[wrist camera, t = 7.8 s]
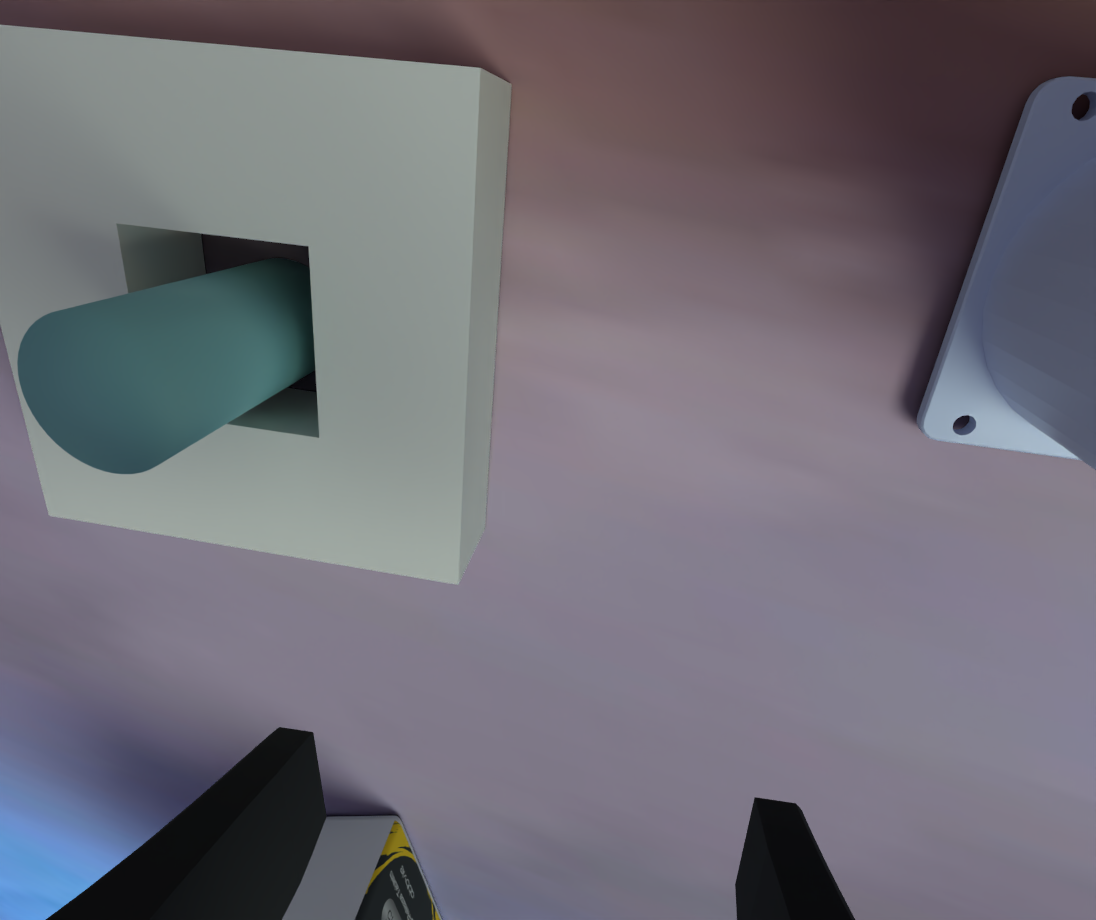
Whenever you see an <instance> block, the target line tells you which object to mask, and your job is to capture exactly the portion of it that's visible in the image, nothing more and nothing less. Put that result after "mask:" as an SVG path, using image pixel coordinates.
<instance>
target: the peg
mask: <svg viewBox="0 0 1096 920" xmlns="http://www.w3.org/2000/svg"><path fill="white" fill-rule="evenodd" d="M17 366H18V376H19V382H20V386H21V389H22V393H23V395H24V398H25V400H26V403H27V405H28V407H29V409H30V410H31V412H32V414H33V416H34V417H35V419H36V420H37V422H38V423H39V425H40V426H41V427H42V429H43V430H44V431H45V432H46V433H47V435H48V436H49V437H50V438H51V439H52V440H53V441H54V442H55V443H56V444H57V445H59V446H60V447H61V448H62V449H63V450H64V451H66V452H67V453H69V454H70V455H71V456H73V457H74V458H76V459H78V460H79V461H81V462H83V463H85V464H87V465H89V466H91V467H93V468H96V469H99V470H102V471H105V472H110V473H115V474H136V473H142V472H145V471H148V470H150V469H152V468H154V467H156V466H158V465H159V464H161V463H163V462H164V461H166V460H167V459H169V458H171V457H172V456H174V455H176V454H177V453H179V452H181V451H182V450H184V449H186V448H187V447H189V446H191V445H192V444H194V443H196V442H197V441H199V440H201V439H202V438H204V437H206V436H207V435H209V434H210V433H212V432H214V431H215V430H217V429H219V428H220V427H222V426H224V425H225V424H227V423H229V422H230V421H232V420H234V419H235V418H237V417H239V416H240V415H242V414H244V413H245V412H247V411H248V410H250V409H252V408H253V407H255V406H257V405H258V404H260V403H262V402H263V401H265V400H267V399H268V398H270V397H272V396H273V395H275V394H277V393H278V392H280V391H282V390H283V389H285V388H287V387H288V386H290V385H291V384H293V383H295V382H296V381H298V380H300V379H301V378H303V377H305V376H306V375H308V374H310V373H311V372H313V371H315V352H314V334H313V317H312V299H311V282H310V268H308V267H307V266H305V265H303V264H301V263H299V262H296V261H293V260H290V259H285V258H270V259H266V260H262V261H258V262H253V263H249V264H245V265H241V266H237V267H233V268H229V269H225V270H221V271H217V272H213V273H209V274H205V275H201V276H197V277H193V278H189V279H185V280H181V281H177V282H172V283H168V284H164V285H160V286H156V287H152V288H148V289H144V290H140V291H136V292H132V293H128V294H124V295H120V296H116V297H112V298H108V299H104V300H100V301H95V302H91V303H87V304H83V305H79V306H75V307H71V308H67V309H63V310H59V311H55V312H51V313H49V314H47V315H44V316H42V317H41V318H39V319H38V320H36V321H35V322H34V323H33V324H32V325H31V326H30V327H29V329H28V330H27V332H26V333H25V335H24V337H23V339H22V341H21V344H20V348H19V352H18V361H17Z"/></svg>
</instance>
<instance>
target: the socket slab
mask: <svg viewBox="0 0 1096 920" xmlns="http://www.w3.org/2000/svg"><path fill="white" fill-rule="evenodd" d="M511 89H512V84H510V83H508V82H506V81H505V80H503V79H501V78H499V77H497V76H495V75H493V74H491V73H489V72H487V71H486V70H484V69H482V68H477V67H466V66H455V65H444V64H432V63H421V62H410V61H399V60H388V59H377V58H366V57H354V56H343V55H332V54H321V53H310V52H299V51H288V50H277V49H265V48H254V47H243V46H232V45H221V44H210V43H199V42H188V41H176V40H165V39H154V38H143V37H132V36H121V35H110V34H99V33H87V32H76V31H65V30H54V29H43V28H32V27H21V26H9V25H0V326H1V330H2V333H3V337H4V341H5V345H6V349H7V353H8V357H9V361H10V365H11V369H12V373H13V376H14V380H15V384H16V388H17V392H18V396H19V400H20V404H21V408H22V412H23V416H24V419H25V423H26V427H27V431H28V435H29V439H30V443H31V447H32V451H33V455H34V459H35V462H36V466H37V470H38V474H39V478H40V482H41V486H42V490H43V494H44V498H45V502H46V505H47V509H48V513H49V516H54V517H60V518H66V519H72V520H78V521H84V522H90V523H96V524H102V525H108V526H114V527H119V528H125V529H131V530H137V531H143V532H149V533H155V534H161V535H167V536H173V537H179V538H184V539H190V540H196V541H202V542H208V543H214V544H220V545H226V546H232V547H238V548H244V549H249V550H255V551H261V552H267V553H273V554H279V555H285V556H291V557H297V558H303V559H309V560H314V561H320V562H326V563H332V564H338V565H344V566H350V567H356V568H362V569H368V570H374V571H379V572H385V573H391V574H397V575H403V576H409V577H415V578H421V579H427V580H433V581H439V582H444V583H450V584H456V585H459V583H460V580H461V578H462V576H463V574H464V572H465V570H466V568H467V566H468V564H469V561H470V559H471V557H472V555H473V553H474V551H475V549H476V547H477V545H478V542H479V540H480V538H481V536H482V534H483V532H484V530H485V519H486V503H487V486H488V470H489V453H490V436H491V420H492V403H493V387H494V370H495V354H496V337H497V320H498V304H499V287H500V271H501V254H502V238H503V221H504V205H505V188H506V171H507V155H508V138H509V122H510V105H511ZM201 233H202V234H210V235H218V236H227V237H235V238H243V239H252V240H260V241H268V242H276V243H285V244H293V245H301V246H309V264H310V282H311V299H312V317H313V334H314V352H315V370H316V387H317V392H313V391H306V390H299V389H292V388H285V389H283V390H282V391H280V392H278V393H277V394H275V395H273V396H272V397H270V398H268V399H267V400H265V401H263V402H262V403H260V404H258V405H257V406H255V407H253V408H252V409H250V410H248V411H247V412H245V413H244V414H242V415H240V416H239V417H237V418H235V419H234V420H232V421H230V422H229V423H227V424H225V425H224V426H222V427H220V428H219V429H217V430H215V431H214V432H212V433H210V434H209V435H207V436H206V437H204V438H202V439H201V440H199V441H197V442H196V443H194V444H192V445H191V446H189V447H187V448H186V449H184V450H182V451H181V452H179V453H177V454H176V455H174V456H172V457H171V458H169V459H167V460H166V461H164V462H163V463H161V464H159V465H158V466H156V467H154V468H152V469H150V470H148V471H145V472H142V473H136V474H115V473H110V472H105V471H102V470H99V469H96V468H93V467H91V466H89V465H87V464H85V463H83V462H81V461H79V460H78V459H76V458H74V457H73V456H71V455H70V454H69V453H67V452H66V451H64V450H63V449H62V448H61V447H60V446H59V445H57V444H56V443H55V442H54V441H53V440H52V439H51V438H50V437H49V436H48V435H47V433H46V432H45V431H44V430H43V429H42V427H41V426H40V425H39V423H38V422H37V420H36V419H35V417H34V416H33V414H32V412H31V410H30V409H29V407H28V405H27V403H26V400H25V398H24V395H23V393H22V389H21V386H20V382H19V376H18V366H17V361H18V352H19V348H20V344H21V341H22V339H23V337H24V335H25V333H26V332H27V330H28V329H29V327H30V326H31V325H32V324H33V323H34V322H35V321H36V320H38V319H39V318H41V317H42V316H44V315H47V314H49V313H51V312H55V311H59V310H63V309H67V308H71V307H75V306H79V305H83V304H87V303H91V302H95V301H100V300H104V299H108V298H112V297H116V296H120V295H124V294H128V293H132V292H136V291H140V290H144V289H148V288H152V287H156V286H160V285H164V284H168V283H172V282H177V281H181V280H185V279H189V278H193V277H197V276H201V275H205V274H206V271H205V262H204V254H203V246H202V238H201Z"/></svg>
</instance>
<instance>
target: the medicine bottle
mask: <svg viewBox="0 0 1096 920" xmlns="http://www.w3.org/2000/svg"><path fill="white" fill-rule="evenodd" d="M282 920H442V918H441V916H440V913H439V911H438V908H437V906H436V904H435V901H434V899H433V896H432V894H431V891H430V889H429V887H428V884H427V882H426V879H425V877H424V874H423V872H422V870H421V867H420V865H419V862H418V860H417V857H416V855H415V852H414V850H413V848H412V845H411V843H410V840H409V838H408V835H407V833H406V831H405V828H404V826H403V823H402V821H401V820H400V818H399V817H398V816H394V815H392V816H330V817H326V820H325V822H324V825H323V828H322V830H321V833H320V835H319V838H318V841H317V843H316V846H315V849H314V851H313V854H312V856H311V859H310V861H309V864H308V866H307V869H306V871H305V873H304V876H303V878H302V881H301V883H300V885H299V887H298V889H297V891H296V893H295V895H294V897H293V899H292V901H291V903H290V905H289V907H288V909H287V911H286V913H285V915H284V917H283V919H282Z"/></svg>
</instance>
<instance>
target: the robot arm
mask: <svg viewBox="0 0 1096 920" xmlns="http://www.w3.org/2000/svg"><path fill="white" fill-rule="evenodd" d="M1082 94H1084V95H1087V97H1088V98H1089V100H1090V106H1089V110H1088V111H1087V113H1086V115H1085V116H1084V117H1082V118H1081V119H1080V120H1077V119H1074V117H1073V115H1072V113H1071V112H1072V105H1073V103H1074V102H1075V100H1076V99H1077V97H1079V96H1080V95H1082ZM965 415H969V422H968V423H967V425H966V426H965V427H963V428H961V429H955V430H954V429H953V423H954V422H955V420H956V419H957V418H959V417H961V416H965ZM917 425H918V427H919V429H920V430H921V431H922V432H923V433H924V434H925V435H926V436H927V437H928V438H931V439H934V440H938V441H945V442H952V443H959V444H967V445H974V446H981V447H989V448H996V449H1003V450H1010V451H1018V452H1025V453H1032V454H1040V455H1047V456H1054V457H1062V458H1069V459H1076V460H1082V461H1084V462H1085V463H1086V464H1088V465H1089V466H1091V467H1092V468H1094V469H1095V470H1096V78H1085V77H1073V76H1067V77H1059V78H1054V79H1050V80H1048V81H1046V82H1044V83H1042V84H1040V85H1039V86H1038V87H1037V88H1036V89H1035V90H1034V91H1033V92H1032V93H1031V95H1030V96H1029V98H1028V100H1027V102H1026V104H1025V107H1024V110H1023V113H1022V116H1021V119H1020V121H1019V124H1018V127H1017V130H1016V133H1015V136H1014V139H1013V142H1012V144H1011V147H1010V150H1009V153H1008V156H1007V159H1006V162H1005V165H1004V167H1003V170H1002V173H1001V176H1000V179H999V182H998V185H997V188H996V190H995V193H994V196H993V199H992V202H991V205H990V208H989V211H988V213H987V216H986V219H985V222H984V225H983V228H982V231H981V234H980V236H979V239H978V242H977V245H976V248H975V251H974V254H973V257H972V259H971V262H970V265H969V268H968V271H967V274H966V277H965V280H964V282H963V285H962V288H961V291H960V294H959V297H958V300H957V303H956V305H955V308H954V311H953V314H952V317H951V320H950V323H949V326H948V328H947V331H946V334H945V337H944V340H943V343H942V346H941V349H940V351H939V354H938V357H937V360H936V363H935V366H934V369H933V372H932V374H931V377H930V380H929V383H928V386H927V389H926V392H925V395H924V397H923V400H922V403H921V406H920V409H919V412H918V415H917ZM325 820H326V811H325V804H324V798H323V792H322V785H321V779H320V773H319V766H318V760H317V753H316V747H315V741H314V734H313V732H308V731H301V730H294V729H287V728H281V727H279V728H278V729H276V730H275V731H274V732H273V733H272V734H270V735H269V736H268V737H267V738H266V739H265V740H263V741H262V742H261V743H260V744H259V745H258V746H257V747H255V748H254V749H253V750H252V751H251V752H250V753H249V754H248V755H246V756H245V757H244V758H243V759H242V760H241V761H240V762H239V763H237V764H236V765H235V766H234V767H233V768H232V769H231V770H230V771H228V772H227V773H226V774H225V775H224V776H223V777H222V778H220V779H219V780H218V781H217V782H216V783H215V784H214V785H212V786H211V787H210V788H209V789H208V790H207V791H206V792H204V793H203V794H202V795H201V796H200V797H199V798H198V799H196V800H195V801H194V802H193V803H192V804H191V805H189V806H188V807H187V808H186V809H185V810H183V811H182V812H181V813H180V814H179V815H178V816H176V817H175V818H174V819H173V820H172V821H170V822H169V823H168V824H167V825H166V826H165V827H163V828H162V829H161V830H160V831H159V832H158V833H156V834H155V835H154V836H153V837H152V838H150V839H149V840H148V841H147V842H145V843H144V844H143V845H142V846H141V847H139V848H138V849H137V850H136V851H134V852H133V853H132V854H131V855H129V856H128V857H127V858H125V859H124V860H123V861H122V862H120V863H119V864H118V865H117V866H115V867H114V868H113V869H112V870H110V871H109V872H108V873H106V874H105V875H104V876H103V877H101V878H100V879H99V880H98V881H96V882H95V883H94V884H93V885H91V886H90V887H89V888H88V889H86V890H85V891H84V892H82V893H81V894H80V895H78V896H77V897H76V898H74V899H73V900H72V901H70V902H69V903H68V904H66V905H65V906H64V907H62V908H61V909H60V910H58V911H57V912H55V913H54V914H53V915H51V916H50V917H49V918H47V919H46V920H282V919H283V917H284V915H285V913H286V911H287V909H288V907H289V905H290V903H291V901H292V899H293V897H294V895H295V893H296V891H297V889H298V887H299V885H300V883H301V881H302V878H303V876H304V873H305V871H306V869H307V866H308V864H309V861H310V859H311V856H312V854H313V851H314V849H315V846H316V843H317V841H318V838H319V835H320V833H321V830H322V828H323V825H324V822H325ZM735 886H736V906H737V920H855V918H854V917H853V915H852V913H851V911H850V909H849V907H848V905H847V903H846V901H845V899H844V897H843V895H842V893H841V892H840V890H839V888H838V886H837V884H836V882H835V880H834V878H833V876H832V874H831V872H830V870H829V868H828V866H827V864H826V862H825V860H824V858H823V856H822V853H821V851H820V849H819V847H818V845H817V843H816V841H815V839H814V836H813V834H812V832H811V830H810V828H809V826H808V823H807V821H806V819H805V817H804V814H803V812H802V810H801V809H800V808H799V807H798V805H797V804H796V803H789V802H782V801H775V800H769V799H762V798H755V799H754V803H753V808H752V812H751V816H750V821H749V825H748V830H747V834H746V839H745V843H744V848H743V852H742V857H741V861H740V866H739V870H738V875H737V879H736V884H735Z"/></svg>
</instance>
